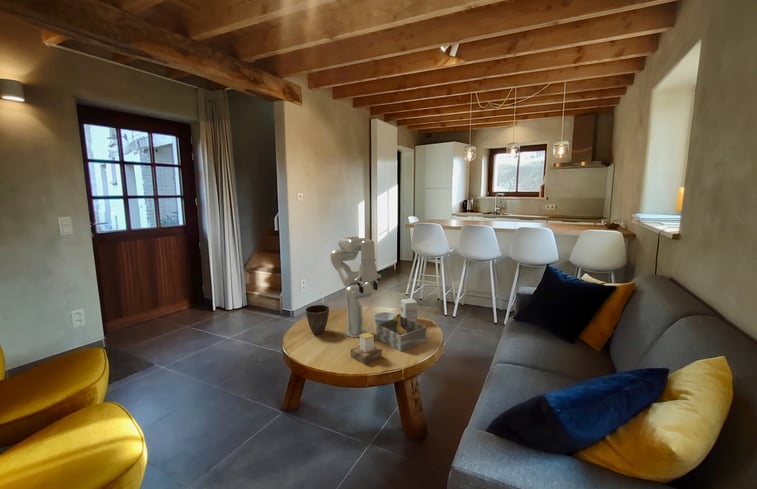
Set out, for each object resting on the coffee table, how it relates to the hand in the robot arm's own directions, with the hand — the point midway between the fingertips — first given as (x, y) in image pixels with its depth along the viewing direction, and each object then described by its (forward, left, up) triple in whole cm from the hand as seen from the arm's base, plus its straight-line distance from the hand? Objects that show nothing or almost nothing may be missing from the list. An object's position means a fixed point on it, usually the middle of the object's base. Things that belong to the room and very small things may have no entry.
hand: (368, 291), depth 194 cm
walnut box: (+10, -9, -34) cm, 36 cm away
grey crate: (+5, +20, -33) cm, 39 cm away
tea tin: (+10, -9, -29) cm, 32 cm away
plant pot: (-36, -15, -33) cm, 51 cm away
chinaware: (-16, +24, -34) cm, 44 cm away
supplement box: (-14, +43, -34) cm, 56 cm away
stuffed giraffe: (+5, +20, -33) cm, 39 cm away
